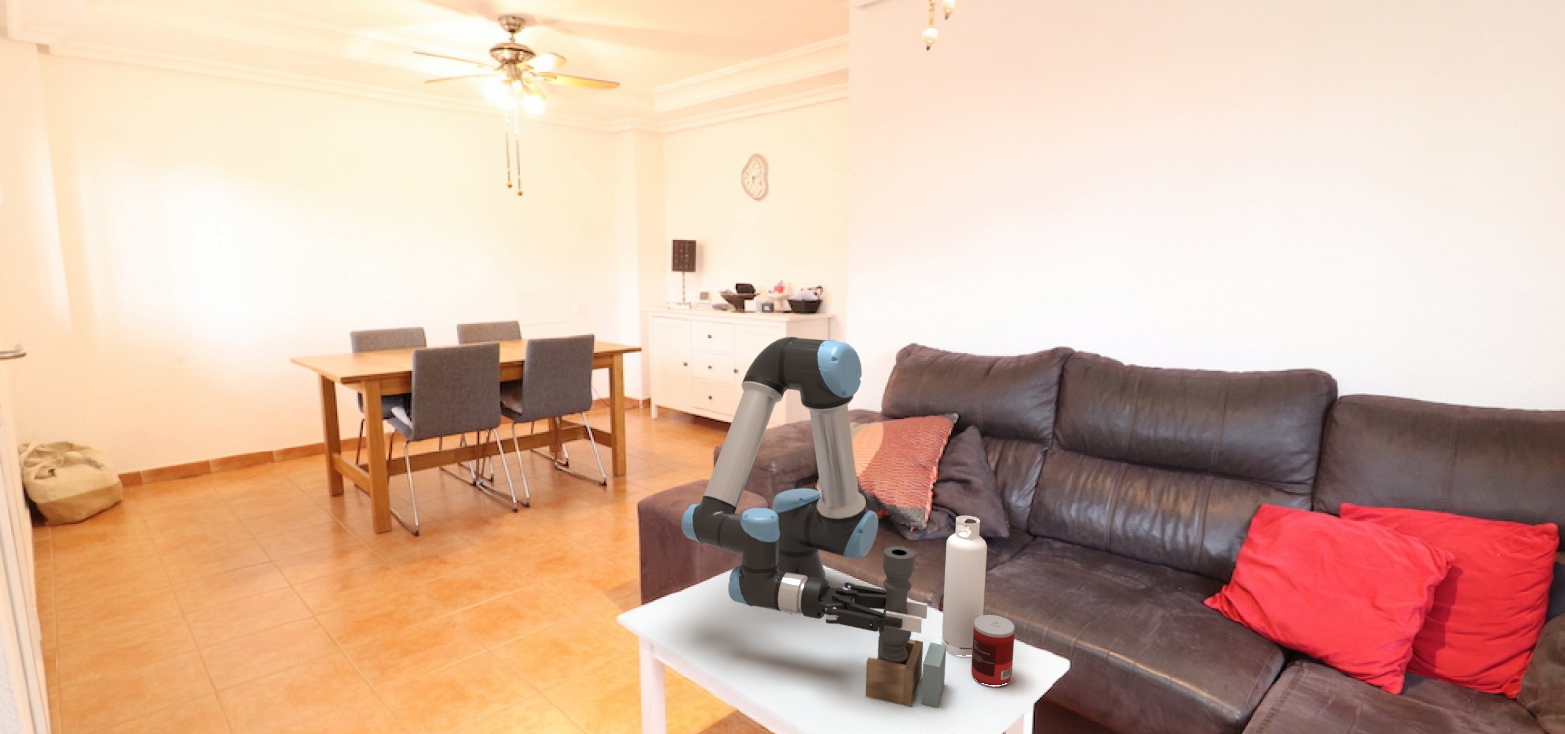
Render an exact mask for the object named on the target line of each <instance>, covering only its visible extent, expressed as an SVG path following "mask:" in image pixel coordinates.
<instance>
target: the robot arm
mask: <svg viewBox="0 0 1565 734" xmlns="http://www.w3.org/2000/svg"><path fill="white" fill-rule="evenodd" d="M862 374H863V372H862V363H861V360H860V356H859V355H858V352H857V351H856V350H855V348H854V347H853V346H852V345H850V344H849V343H847V342H843V341H837V340H834V339H816V338H803V337H796V336H787V337H782V338H779V339H777V340H775V341H773V342H772V343H769V345H767V346H766V347H765V348H763V350H762V351H761V352H759V353H758V355H757V356H756V357H755V358H754V359H753V361H752V363H751V364H750V365H749V367H748V370H746V372H745V375H744V377H743V380H742V382H741V389H742V390H743V393H742V394H741V398H740V400H739V403H738V406H737V408H736V411H735V414H734V416H733V419H732V420H731V421H732V422H731V424H730V427H729V429H728V431H727V434H726V436H725V440H724V442H723V445H722V446H721V449H720V453H719V455H718V457H717V461H716V462H715V465H714V468H713V471H712V473H711V476H710V477H709V482H708V484H707V486H706V489H705V492H704V494H703V496H702V499H701V501H700V503H693V504H690V505H689V506H688V508H687V509H686V510H684V513H683V515H682V517H681V518H682V519H681V531H682V532H683V535H684V536H685V537H686V538H687V539H689V540H693V541H695V542H698V543H699V544H702V545H708V546H712V547H716V548H720V549H723V550H725V551H728V552H732V553H735V554H739V555H740V559H741V560H740V563H741V564H736V565H735V566H734V567H733V568H732V570H731V573H730V574H729V580H728V586H727V589H728V590H727V591H728V595H729V597H730V599H731V600H732V601H733V602H735V603H739V604H743V605H746V606H749V607H757V608H763V609H769V610H774V611H778V612H783V613H787V614H789V615H798V616H799V615H803V616H804V617H807V618H813V619H818V620H820V619H822V618H824V616H825V623H826V624H829V625H830V624H831V625H842V626H847V627H851V628H855V629H862V630H864V631H865V630H866V631H870V632H874V633H875V632H879V631H880V632H883V631H884V626H886V627H891V628H896V629H901V630H906V631H911V633H917V634H922V633H921V632H922V619H925V620H927V618H928V603H927V602H926V603H925V602H920V601H916V600H915V601H914V600H909V599H907V611H908V615H906V614H901V613H896V612H890V611H886V616H885V614H884V613H883V612H882V611H879V610H884V608H885V605H886V593H887V590H886V589H881V588H875V587H870V586H864V585H863V586H862V585H857V584H854V583H852V582H848V581H847V582H844V587H831V586H830V585H829V582H828V580H827V579H826V573H825V569H824V566H823V562H822V558H821V555H820V553H819V551H823V552H827V553H830V554H834V555H837V556H840V557H844V558H850V559H854V560H860V559H863V558H864V557H865V556H866V555H867V554H869V552H870V550H871V549H872V547H873V545H874V542H875V539H876V537H877V532H878V528H879V517H878V514H877V513H876V512H874V511H873V510H871V509H870V510H868V509H867V502H866V501H867V500H866V498H865V496H864V495H863V493H860V492H859V488H858V481H857V480H858V479H857V472H856V471H857V469H856V462H855V456H854V446H853V439H852V429H851V421H850V413H849V406H848V405H849V404H850V403H851V402H852V400H853V399H854V396H855V394H856V393H857V392H858V390H859V388H860V385H861V382H862V381H861V377H862ZM787 390H794V391H798V392H799V395H800V401H801V405H802V406H803V407H805V409H807V410H808V411H809V416H810V423H811V432H812V437H813V444H814V450H815V452H814V453H815V458H816V464H817V465H816V467H817V473H818V479H819V480H818V481H819V487H820V491H819V490H817V489H814V488H794V489H789V490H785V491H782V492H780V493H778V494H776V496H774V497H773V498H774V499H773V503H772V509H770V508H766V507H763V508H762V507H752V508H749V509H746V510H744V511H743V512H742V514H739V513H736V511H737V508H738V505H739V503H740V499H741V497H742V494H743V492H744V489H745V487H746V484H747V481H748V478H749V475H750V473H751V470H752V467H753V465H754V463H755V461H756V460H755V459H756V457H757V454H758V452H759V449H760V446H761V443H762V441H763V439H764V436H765V433H766V430H767V427H768V424H769V423H770V420H771V416H772V414H773V411H774V408H775V406H776V404H777V403H779V402H781V401H782V400H783V397H784V394H785V392H787ZM820 493H821V494H820ZM876 609H877V610H876ZM878 629H879V631H878Z"/></svg>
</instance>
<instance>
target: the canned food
mask: <svg viewBox="0 0 1565 734" xmlns="http://www.w3.org/2000/svg"><path fill="white" fill-rule="evenodd" d="M1015 632H1016V631H1015V624H1014V623H1013V622H1012V621H1011V620H1009V619H1008V618H1006V617H1003V616H1000V615H994V614H983V616H979V617H977V618H976V619H975V621H974V628H973V646H972V648H971V649H972V657H971V665H970V666H971V669H970V671H971V675H972V677H973V679H974V678H975V679H976V680H977V681H978V683H979V682H980V683H979V684H981V683H984V684H988V685H1002V684H1005V683H1008V682H1009V681H1010V682H1011V679H1012V674H1013V662H1014V661H1013V659H1014V646H1015ZM975 679H974V680H975ZM976 680H975V681H976ZM977 681H976V682H977ZM1010 682H1009V683H1010ZM1009 683H1008V684H1009Z"/></svg>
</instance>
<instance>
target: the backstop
mask: <svg viewBox="0 0 1565 734" xmlns="http://www.w3.org/2000/svg"><path fill="white" fill-rule="evenodd" d="M946 655H947V652H946V645H942V643H934V642H929V645H928V648H927V651H926V654H925V657H924V659H923V661H922V676H921V678H922V679H921V680H922V681H921V697H920V699H921V701H920V704H921V705H923V706H928V707H933V708H937V709H938V708H939V704H940V701H941V697H942V694H943V690H944V687H945V678H946V676H945V675H946Z"/></svg>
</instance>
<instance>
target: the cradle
mask: <svg viewBox="0 0 1565 734" xmlns="http://www.w3.org/2000/svg"><path fill="white" fill-rule="evenodd" d="M877 644H878V645H877V657H878V656H879V653H878V651H879V650H880V648H881V647H882V646H883V643H882V640H881V638H880V635H879V634H878V643H877ZM905 649H906V651H907V652H908V655H909V657H908V661H907V664H906V665H903V664H898V663H894V662H889V661H884V660H879V659H877V658H874V657H868V658H867V660H866V668H865V669H866V670H865V671H866V673H865V697H868V698H871V699H877V700H880V701H885V702H889V703H894V704H897V705H903V706H906V707H910V708H911V707H912V704H913V702H914V700H915V696H916V692H917V690H918V687H919V684H920V681H921V678H922V676H923V653H924V652H923V651H924V641H922V640H915V639H911V638H910V639H909V641H908V642H907V644H906V646H905Z"/></svg>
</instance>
